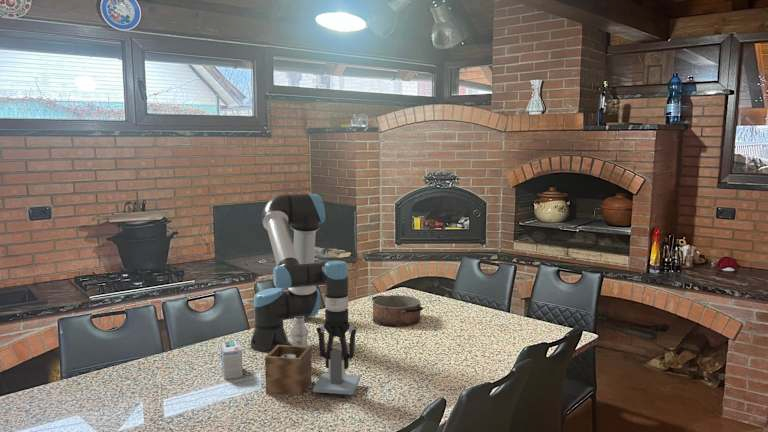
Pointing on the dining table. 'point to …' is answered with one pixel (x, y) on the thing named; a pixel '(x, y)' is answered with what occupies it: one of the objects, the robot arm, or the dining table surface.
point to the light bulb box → (231, 360)
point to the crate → (288, 370)
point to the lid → (336, 377)
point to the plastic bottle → (299, 332)
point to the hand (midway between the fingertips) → (337, 377)
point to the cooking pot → (396, 310)
